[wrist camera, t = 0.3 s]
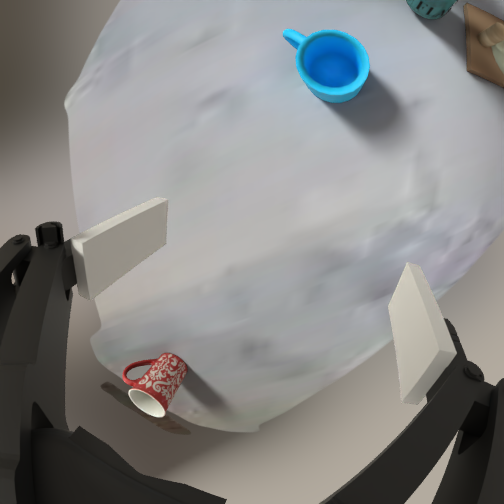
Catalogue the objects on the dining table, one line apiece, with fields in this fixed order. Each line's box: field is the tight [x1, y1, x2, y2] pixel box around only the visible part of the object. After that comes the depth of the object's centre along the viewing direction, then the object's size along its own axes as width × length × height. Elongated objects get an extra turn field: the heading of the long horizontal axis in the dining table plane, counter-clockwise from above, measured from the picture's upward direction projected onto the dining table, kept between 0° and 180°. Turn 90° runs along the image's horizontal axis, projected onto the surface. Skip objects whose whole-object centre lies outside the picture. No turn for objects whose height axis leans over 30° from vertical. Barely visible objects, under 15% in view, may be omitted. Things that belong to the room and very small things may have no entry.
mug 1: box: [123, 353, 187, 417], centre depth 58 cm, size 13×9×14 cm
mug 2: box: [283, 29, 370, 103], centre depth 29 cm, size 12×8×8 cm
